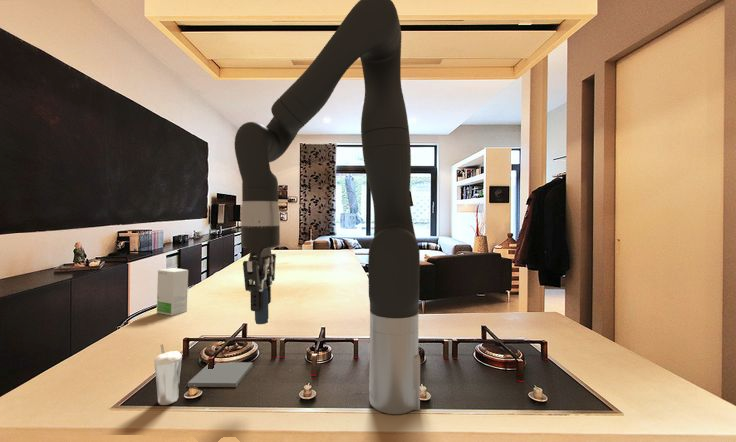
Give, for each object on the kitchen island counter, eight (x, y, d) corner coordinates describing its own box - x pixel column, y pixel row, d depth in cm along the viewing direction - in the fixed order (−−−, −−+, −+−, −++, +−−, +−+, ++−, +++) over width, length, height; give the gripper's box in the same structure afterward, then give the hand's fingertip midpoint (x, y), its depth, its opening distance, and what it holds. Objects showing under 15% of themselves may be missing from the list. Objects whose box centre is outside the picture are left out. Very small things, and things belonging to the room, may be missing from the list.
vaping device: (266, 316, 74) (265, 260, 73) (269, 323, 69) (268, 263, 68) (254, 318, 73) (253, 261, 72) (255, 325, 68) (254, 264, 67)
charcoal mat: (252, 365, 81) (252, 362, 81) (236, 387, 71) (236, 383, 71) (210, 365, 81) (210, 362, 81) (187, 386, 71) (187, 382, 71)
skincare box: (156, 313, 124) (156, 269, 123) (172, 308, 130) (172, 267, 130) (172, 316, 120) (172, 271, 120) (188, 311, 126) (188, 268, 126)
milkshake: (174, 390, 69) (174, 341, 69) (186, 399, 66) (185, 347, 66) (148, 400, 66) (148, 347, 66) (159, 410, 62) (159, 355, 62)
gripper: (268, 224, 63) (269, 317, 63) (287, 223, 78) (287, 298, 78) (227, 225, 63) (228, 317, 63) (254, 223, 78) (254, 298, 78)
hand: (261, 306), depth 71 cm, fingers closed on vaping device, 5 cm apart
